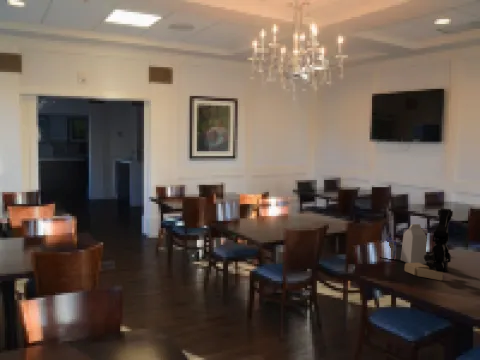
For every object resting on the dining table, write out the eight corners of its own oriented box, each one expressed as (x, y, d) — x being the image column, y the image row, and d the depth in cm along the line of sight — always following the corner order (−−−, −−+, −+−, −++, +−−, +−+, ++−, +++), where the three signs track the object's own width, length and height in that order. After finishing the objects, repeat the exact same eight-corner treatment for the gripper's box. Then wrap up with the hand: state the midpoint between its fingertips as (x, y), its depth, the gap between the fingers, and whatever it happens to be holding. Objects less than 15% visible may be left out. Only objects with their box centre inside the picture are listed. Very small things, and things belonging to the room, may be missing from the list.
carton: (417, 270, 292) (418, 262, 292) (428, 274, 283) (429, 266, 283) (404, 271, 289) (404, 263, 289) (414, 275, 280) (415, 267, 279)
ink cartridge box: (395, 258, 321) (397, 238, 320) (393, 260, 317) (394, 239, 316) (381, 256, 327) (382, 236, 326) (379, 257, 322) (380, 237, 321)
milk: (410, 264, 307) (412, 225, 305) (400, 260, 318) (402, 222, 316) (426, 263, 310) (428, 225, 308) (415, 259, 321) (418, 222, 319)
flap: (442, 280, 272) (442, 272, 272) (441, 280, 271) (442, 272, 271) (416, 275, 280) (417, 267, 280) (416, 275, 279) (416, 268, 279)
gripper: (427, 245, 285) (425, 269, 287) (423, 252, 269) (421, 278, 271) (446, 247, 280) (445, 272, 282) (443, 254, 264) (442, 281, 265)
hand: (438, 276), depth 275 cm, fingers closed
